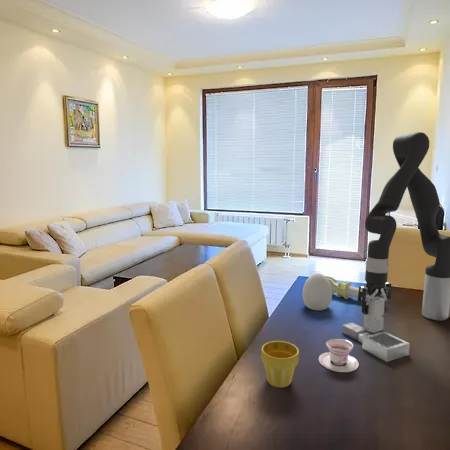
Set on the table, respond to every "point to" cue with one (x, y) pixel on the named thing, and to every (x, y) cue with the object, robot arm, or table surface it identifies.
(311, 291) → the decorative egg
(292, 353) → the plant pot
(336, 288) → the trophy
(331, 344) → the teacup
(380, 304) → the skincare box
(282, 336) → the table surface
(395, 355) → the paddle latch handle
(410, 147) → the robot arm
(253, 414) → the table surface
